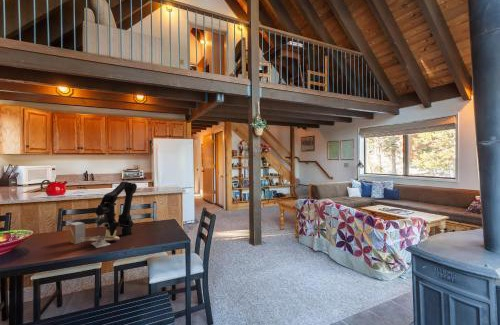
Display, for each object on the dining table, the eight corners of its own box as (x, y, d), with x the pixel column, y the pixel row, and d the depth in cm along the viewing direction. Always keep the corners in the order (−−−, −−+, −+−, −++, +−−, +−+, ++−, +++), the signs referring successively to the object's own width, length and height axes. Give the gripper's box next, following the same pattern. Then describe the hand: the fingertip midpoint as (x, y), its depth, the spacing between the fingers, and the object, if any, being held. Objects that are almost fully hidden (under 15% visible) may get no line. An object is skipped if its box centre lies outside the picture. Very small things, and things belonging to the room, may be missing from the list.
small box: (69, 242, 172) (68, 223, 172) (79, 239, 178) (78, 221, 178) (75, 244, 168) (75, 225, 168) (85, 241, 174) (85, 222, 174)
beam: (116, 237, 178) (116, 235, 178) (119, 239, 173) (119, 237, 173) (79, 238, 162) (80, 237, 162) (82, 241, 157) (83, 239, 157)
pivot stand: (104, 240, 175) (104, 233, 175) (110, 244, 166) (110, 237, 166) (91, 243, 169) (91, 236, 169) (96, 247, 161) (96, 240, 161)
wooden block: (112, 235, 175) (114, 229, 176) (115, 237, 172) (116, 230, 173) (105, 235, 172) (106, 229, 172) (107, 237, 168) (108, 230, 169)
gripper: (92, 212, 172) (93, 235, 173) (101, 216, 160) (101, 240, 160) (110, 210, 181) (110, 231, 181) (119, 213, 168) (120, 236, 168)
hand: (110, 235), depth 172 cm, fingers closed on wooden block, 5 cm apart
